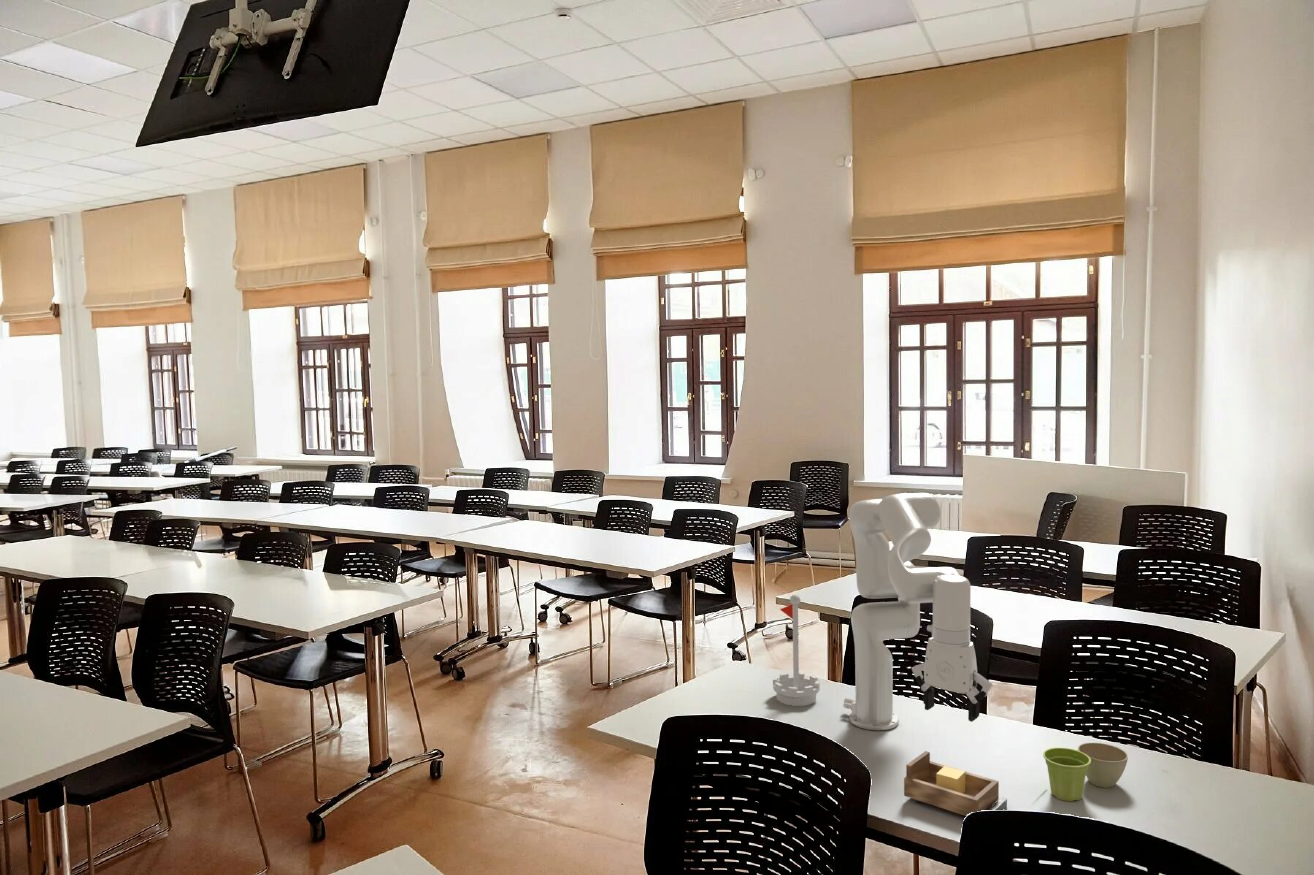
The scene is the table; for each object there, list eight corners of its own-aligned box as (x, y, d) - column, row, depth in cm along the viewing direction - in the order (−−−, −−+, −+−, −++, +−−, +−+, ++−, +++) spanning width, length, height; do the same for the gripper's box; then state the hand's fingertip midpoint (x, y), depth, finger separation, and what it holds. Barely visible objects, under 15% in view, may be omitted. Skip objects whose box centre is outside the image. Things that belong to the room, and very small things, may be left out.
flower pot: (1107, 797, 197) (1108, 765, 196) (1067, 779, 205) (1067, 748, 205) (1137, 786, 201) (1138, 755, 201) (1097, 769, 210) (1097, 738, 209)
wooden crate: (904, 801, 196) (904, 766, 195) (927, 782, 204) (927, 749, 203) (976, 825, 185) (976, 788, 185) (998, 805, 193) (998, 770, 193)
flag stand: (828, 697, 259) (827, 593, 256) (803, 711, 249) (802, 603, 246) (789, 687, 267) (788, 586, 265) (764, 700, 257) (762, 595, 255)
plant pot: (1087, 809, 191) (1087, 769, 191) (1039, 799, 196) (1039, 760, 196) (1092, 791, 199) (1093, 753, 199) (1046, 781, 204) (1047, 744, 204)
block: (936, 794, 194) (936, 773, 194) (944, 786, 198) (944, 766, 197) (957, 800, 191) (957, 779, 191) (965, 791, 195) (965, 771, 195)
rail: (862, 789, 203) (862, 779, 203) (887, 772, 211) (886, 762, 211) (985, 830, 184) (985, 819, 184) (1006, 810, 192) (1006, 799, 192)
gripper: (904, 631, 195) (904, 709, 196) (984, 647, 183) (983, 730, 185) (921, 623, 200) (921, 699, 202) (999, 638, 189) (998, 718, 190)
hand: (950, 713), depth 193 cm, fingers open, 9 cm apart
